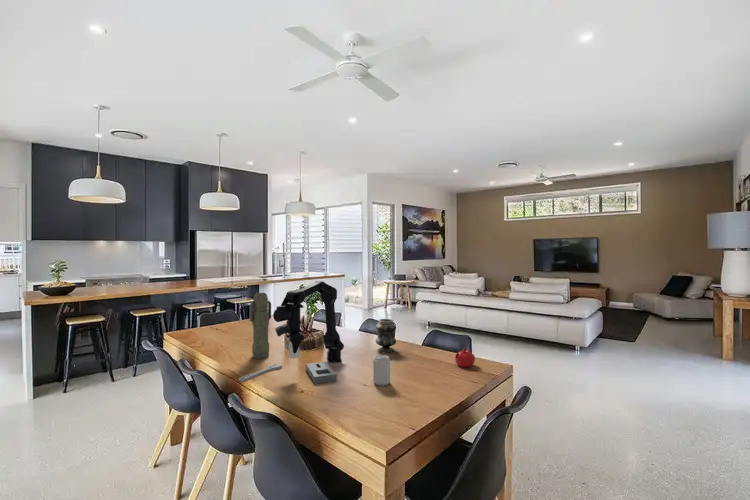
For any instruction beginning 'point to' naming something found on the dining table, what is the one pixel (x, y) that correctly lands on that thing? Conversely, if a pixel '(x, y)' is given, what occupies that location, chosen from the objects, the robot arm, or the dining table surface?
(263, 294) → the thermos
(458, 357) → the pomegranate
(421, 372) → the dining table surface
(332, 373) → the socket plate
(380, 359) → the can
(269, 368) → the adjustable wrench
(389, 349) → the apothecary jar
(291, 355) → the steel peg
